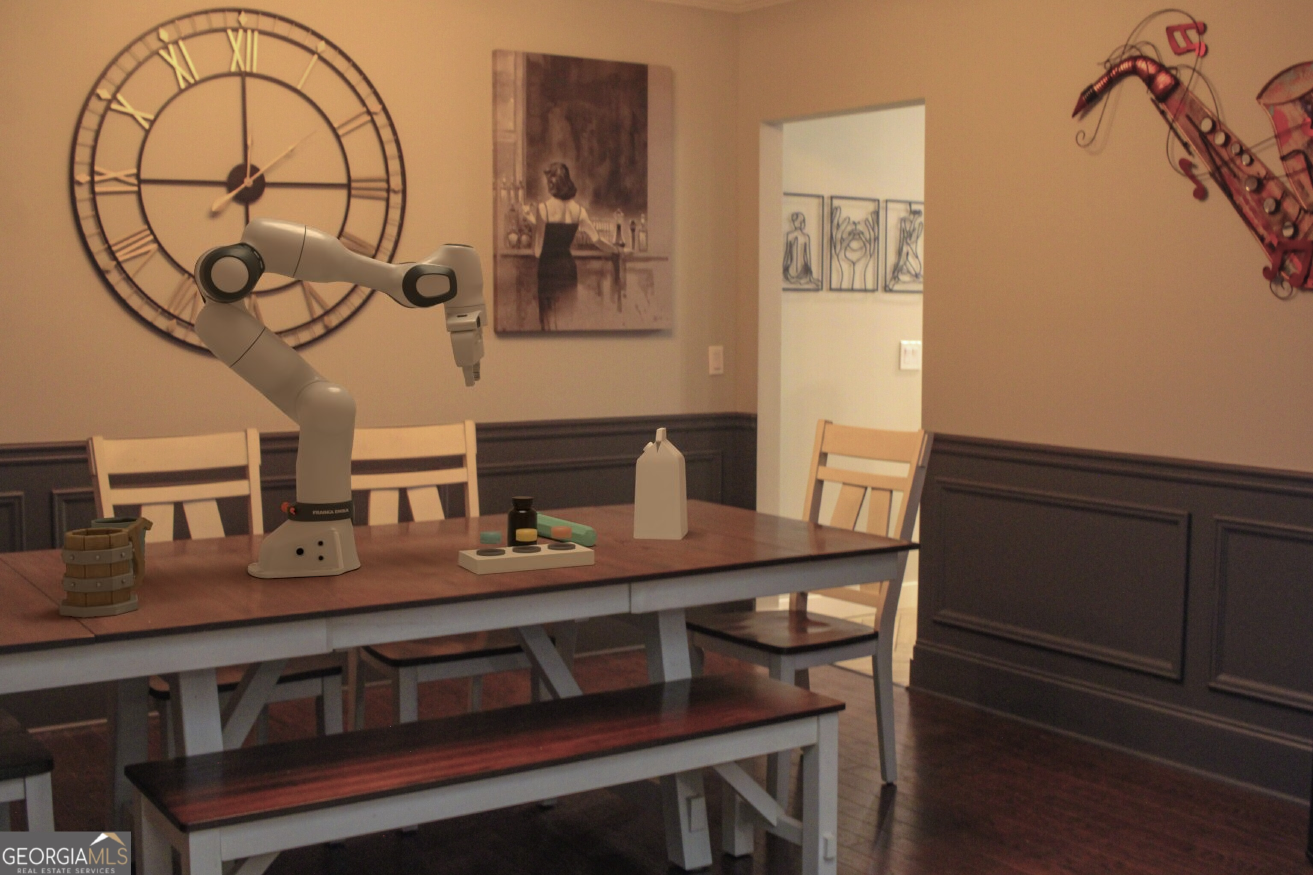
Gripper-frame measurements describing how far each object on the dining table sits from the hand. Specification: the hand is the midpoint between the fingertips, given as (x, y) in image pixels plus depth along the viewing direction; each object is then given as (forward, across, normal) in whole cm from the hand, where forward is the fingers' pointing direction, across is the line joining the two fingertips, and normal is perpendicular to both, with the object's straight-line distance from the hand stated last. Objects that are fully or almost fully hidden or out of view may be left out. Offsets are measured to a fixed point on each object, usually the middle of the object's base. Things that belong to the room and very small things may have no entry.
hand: (473, 383), depth 276 cm
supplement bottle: (+40, -7, +6) cm, 41 cm away
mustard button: (+33, +11, +9) cm, 36 cm away
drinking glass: (+30, +28, -70) cm, 81 cm away
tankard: (+29, +52, -61) cm, 85 cm away
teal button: (+32, +14, +2) cm, 35 cm away
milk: (+44, -29, +37) cm, 65 cm away
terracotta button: (+34, +7, +16) cm, 38 cm away
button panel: (+38, +11, +9) cm, 41 cm away
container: (+42, -21, +14) cm, 49 cm away
